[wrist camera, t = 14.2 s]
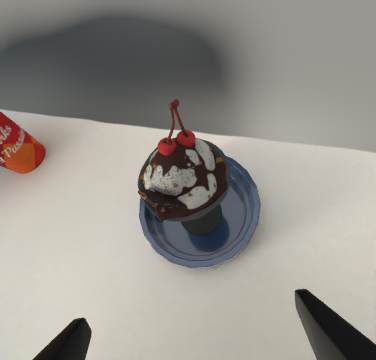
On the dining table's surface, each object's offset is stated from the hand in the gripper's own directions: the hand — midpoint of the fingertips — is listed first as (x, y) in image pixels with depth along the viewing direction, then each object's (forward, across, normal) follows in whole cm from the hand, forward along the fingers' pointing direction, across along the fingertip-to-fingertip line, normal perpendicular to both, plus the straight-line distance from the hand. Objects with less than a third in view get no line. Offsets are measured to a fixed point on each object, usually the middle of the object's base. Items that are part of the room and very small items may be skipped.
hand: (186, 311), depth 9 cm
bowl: (+15, 0, +4) cm, 16 cm away
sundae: (+15, 0, +4) cm, 15 cm away
